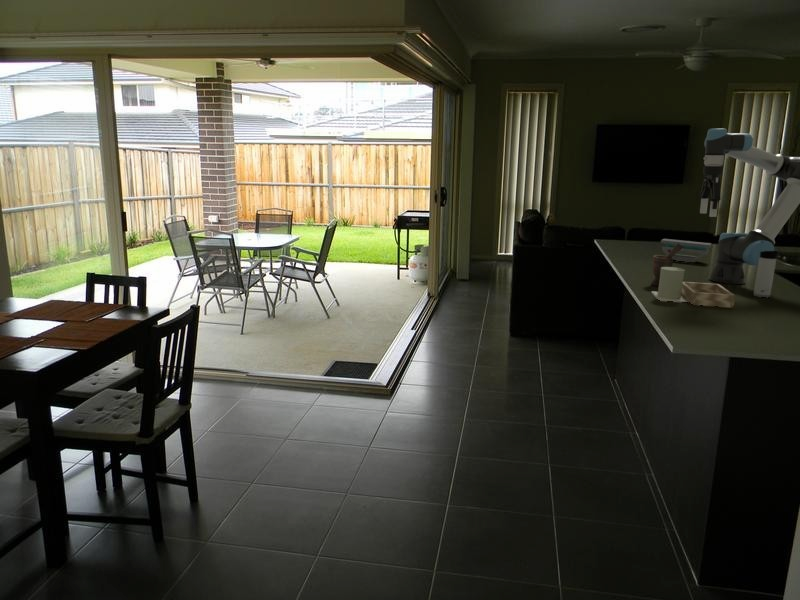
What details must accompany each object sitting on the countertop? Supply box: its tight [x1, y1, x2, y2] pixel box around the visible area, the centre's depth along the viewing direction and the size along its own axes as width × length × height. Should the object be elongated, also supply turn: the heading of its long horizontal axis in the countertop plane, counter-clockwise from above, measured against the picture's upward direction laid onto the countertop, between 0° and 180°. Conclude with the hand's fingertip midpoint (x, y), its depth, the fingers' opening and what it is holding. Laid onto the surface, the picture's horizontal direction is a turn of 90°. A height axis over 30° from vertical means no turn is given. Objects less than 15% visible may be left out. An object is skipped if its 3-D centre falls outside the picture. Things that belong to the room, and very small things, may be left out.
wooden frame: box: [681, 281, 736, 309], centre depth 266 cm, size 15×22×5 cm
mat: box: [651, 290, 689, 303], centre depth 269 cm, size 11×16×1 cm
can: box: [657, 266, 685, 299], centre depth 267 cm, size 9×9×12 cm
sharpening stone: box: [660, 238, 713, 263], centre depth 362 cm, size 25×8×11 cm, turn 57°
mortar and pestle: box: [650, 243, 683, 287], centre depth 291 cm, size 12×9×20 cm
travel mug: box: [753, 250, 779, 299], centre depth 275 cm, size 6×7×20 cm
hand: (707, 215), depth 284 cm, fingers open, 13 cm apart
